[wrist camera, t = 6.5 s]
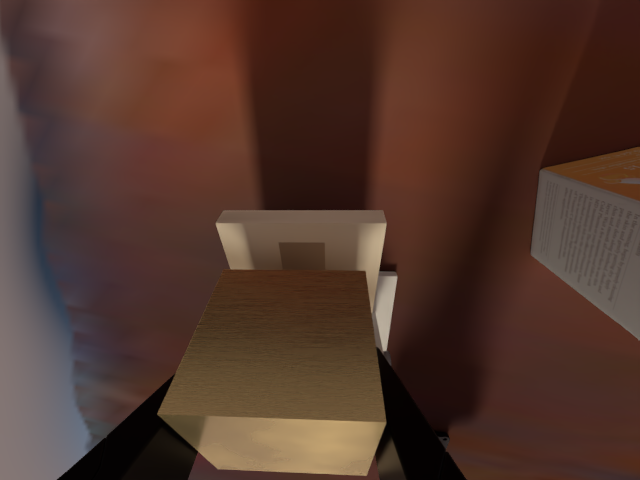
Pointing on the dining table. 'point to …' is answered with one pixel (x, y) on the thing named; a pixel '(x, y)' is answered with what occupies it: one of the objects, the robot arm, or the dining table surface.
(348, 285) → the wooden block
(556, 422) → the dining table surface
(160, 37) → the dining table surface
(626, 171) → the small box
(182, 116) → the dining table surface
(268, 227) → the beam
